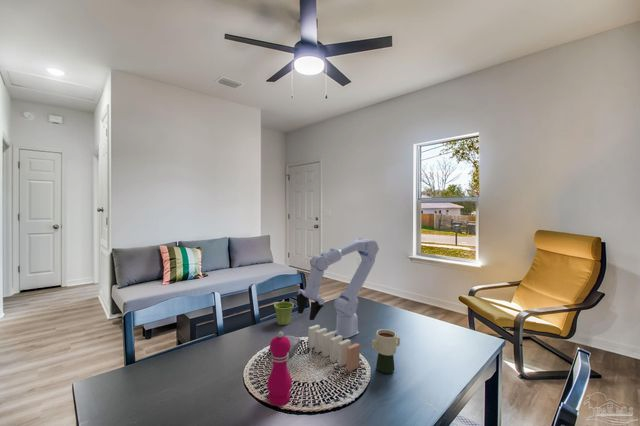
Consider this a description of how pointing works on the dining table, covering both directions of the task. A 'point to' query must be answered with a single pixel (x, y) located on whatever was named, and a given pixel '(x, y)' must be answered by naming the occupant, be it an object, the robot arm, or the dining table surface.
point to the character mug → (385, 349)
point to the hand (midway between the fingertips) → (305, 316)
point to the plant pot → (283, 312)
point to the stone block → (293, 345)
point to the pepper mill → (279, 371)
